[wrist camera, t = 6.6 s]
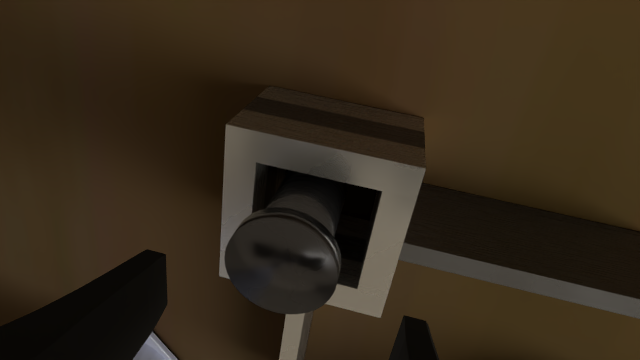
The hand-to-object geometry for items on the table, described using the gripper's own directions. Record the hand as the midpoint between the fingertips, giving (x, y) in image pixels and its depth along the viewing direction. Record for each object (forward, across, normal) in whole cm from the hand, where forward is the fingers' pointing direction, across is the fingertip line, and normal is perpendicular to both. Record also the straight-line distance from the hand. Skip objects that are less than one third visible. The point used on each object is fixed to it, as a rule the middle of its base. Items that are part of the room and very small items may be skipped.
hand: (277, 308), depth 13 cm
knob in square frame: (+9, -6, +5) cm, 12 cm away
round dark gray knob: (+9, 0, 0) cm, 9 cm away
